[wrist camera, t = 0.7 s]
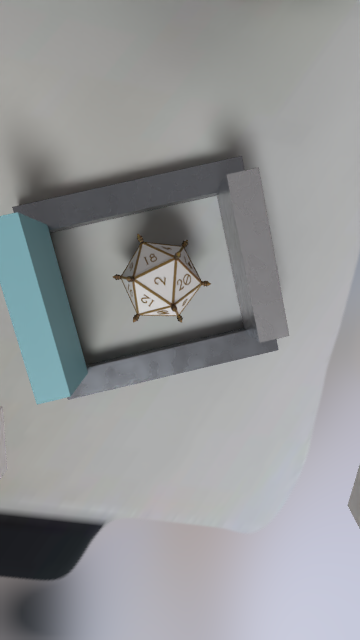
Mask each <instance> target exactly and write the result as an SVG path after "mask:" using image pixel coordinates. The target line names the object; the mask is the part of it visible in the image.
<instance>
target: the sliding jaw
mask: <svg viewBox="0 0 360 640" xmlns="http://www.w3.org/2000/svg"><path fill="white" fill-rule="evenodd" d="M0 284H1V287H2V291H3V294H4V297H5V301H6V304H7V307H8V311H9V314H10V317H11V320H12V324H13V327H14V330H15V334H16V337H17V340H18V344H19V347H20V350H21V354H22V357H23V360H24V363H25V367H26V370H27V373H28V377H29V380H30V383H31V387H32V390H33V393H34V396H35V400H36V403H37V404H41V403H45V402H49V401H54V400H58V399H62V398H66V397H71V395H72V394H73V393H74V391H75V390H76V388H77V387H78V386H79V384H80V383H81V382H82V380H83V379H84V378H85V376H86V375H87V374H88V371H87V367H86V364H85V360H84V356H83V353H82V349H81V345H80V342H79V338H78V335H77V331H76V327H75V324H74V320H73V316H72V313H71V309H70V306H69V302H68V298H67V295H66V291H65V287H64V284H63V280H62V277H61V273H60V269H59V266H58V262H57V258H56V255H55V251H54V248H53V244H52V240H51V237H50V233H49V229H48V226H47V225H46V224H44V223H42V222H39V221H37V220H35V219H32V218H30V217H28V216H25V215H23V214H21V213H18V212H17V213H12V214H8V215H3V216H0Z"/></svg>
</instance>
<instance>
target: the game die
mask: <svg viewBox="0 0 360 640" xmlns="http://www.w3.org/2000/svg"><path fill="white" fill-rule="evenodd" d="M137 239H138V241H139V242H140V245H139V247H138V249H137V250H136V252H135V254H134V255H133V257H132V259H131V260H130V262H129V264H128V265H127V267H126V269H125V270H124V272H123V274H122V275H121V276H120V275H117V274H116V275H115V276H113V278H115V279H116V280H117V279H118V280H119V279H121V280H122V282H123V284H124V286H125V289H126V291H127V293H128V295H129V297H130V300H131V302H132V304H133V306H134V308H135V310H136V313H137V314H136V315H134V317H133V322H135V321H138V318H139V316H140V315H147V316H177V319H178V321H180V322H182V319H183V318H182V316H180V313H181V312H182V311H183V309H184V308H185V307H186V305H187V304H188V303H189V301H190V300H191V299H192V297H193V296H194V294H195V293H196V292H197V290H198V289H199V288H200V286H201V285H204V286H206V287H207V286H208V285H210V284H211V283H209V282H208V281H203V282H202V281H201V279H200V277H199V275H198V273H197V271H196V270H195V268H194V266H193V264H192V262H191V260H190V258H189V256H188V254H187V252H186V250H185V247H186V246H187V245H188V240H186V241H183V243H182V246H177V245H168V244H158V243H149V242H144V241H143V238H142V236H141V235H139V234H138V236H137Z"/></svg>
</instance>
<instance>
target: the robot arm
mask: <svg viewBox="0 0 360 640" xmlns="http://www.w3.org/2000/svg"><path fill="white" fill-rule="evenodd" d="M6 470H7V457H6V444H5V430H4V416H3V407H0V479H1V477H2V476H3V474H4V473H5V472H6ZM348 507H349V509H350V511H351V513H352V515H353V516H354V518H355V520H356V522H357V524H358V526H359V528H360V466H359V469H358V472H357V476H356V479H355V483H354V486H353V489H352V493H351V496H350V499H349V503H348Z"/></svg>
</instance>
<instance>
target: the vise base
mask: <svg viewBox="0 0 360 640" xmlns="http://www.w3.org/2000/svg"><path fill="white" fill-rule="evenodd" d="M216 195H217V198H218V203H219V207H220V212H221V217H222V222H223V227H224V232H225V237H226V242H227V247H228V252H229V257H230V262H231V267H232V272H233V277H234V282H235V286H236V291H237V296H238V301H239V306H240V311H241V316H242V321H243V326H244V328H243V329H238V330H234V331H230V332H225V333H221V334H217V335H213V336H208V337H204V338H200V339H196V340H191V341H187V342H183V343H179V344H174V345H170V346H166V347H161V348H157V349H153V350H149V351H144V352H140V353H136V354H132V355H127V356H123V357H119V358H115V359H110V360H106V361H102V362H97V363H93V364H89V365H86V367H87V371H88V374H87V375H86V376H85V378H84V379H83V380H82V382H81V383H80V384H79V386H78V387H77V388H76V390H75V391H74V393H73V394H72V395H71V397H67V398H68V400H69V399H73V398H77V397H82V396H86V395H90V394H94V393H98V392H103V391H107V390H111V389H115V388H120V387H124V386H128V385H132V384H137V383H141V382H145V381H149V380H153V379H158V378H162V377H166V376H170V375H175V374H179V373H183V372H187V371H192V370H196V369H200V368H204V367H208V366H213V365H217V364H221V363H225V362H230V361H234V360H238V359H242V358H247V357H251V356H255V355H259V354H263V353H268V352H272V351H276V350H278V345H277V340H276V339H278V338H282V337H286V336H289V331H288V326H287V320H286V315H285V309H284V304H283V298H282V293H281V287H280V282H279V277H278V271H277V266H276V260H275V255H274V249H273V244H272V238H271V233H270V227H269V222H268V216H267V211H266V206H265V200H264V195H263V189H262V184H261V178H260V173H259V167H258V168H254V169H249V170H245V171H244V166H243V160H242V156H239V157H235V158H230V159H226V160H221V161H217V162H212V163H208V164H203V165H199V166H194V167H190V168H185V169H181V170H176V171H172V172H167V173H163V174H158V175H154V176H149V177H145V178H141V179H136V180H132V181H127V182H123V183H118V184H114V185H109V186H105V187H100V188H96V189H91V190H87V191H82V192H78V193H73V194H69V195H64V196H60V197H55V198H51V199H46V200H42V201H37V202H33V203H28V204H24V205H19V206H15V207H13V211H14V213H17V212H18V213H21V214H23V215H25V216H28V217H30V218H32V219H35V220H37V221H39V222H42V223H44V224H46V225H47V226H48V229H49V233H52V232H56V231H60V230H65V229H69V228H74V227H78V226H83V225H87V224H92V223H96V222H100V221H105V220H109V219H114V218H118V217H123V216H127V215H132V214H136V213H140V212H145V211H149V210H154V209H158V208H163V207H167V206H171V205H176V204H180V203H185V202H189V201H194V200H198V199H203V198H207V197H211V196H216Z"/></svg>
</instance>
